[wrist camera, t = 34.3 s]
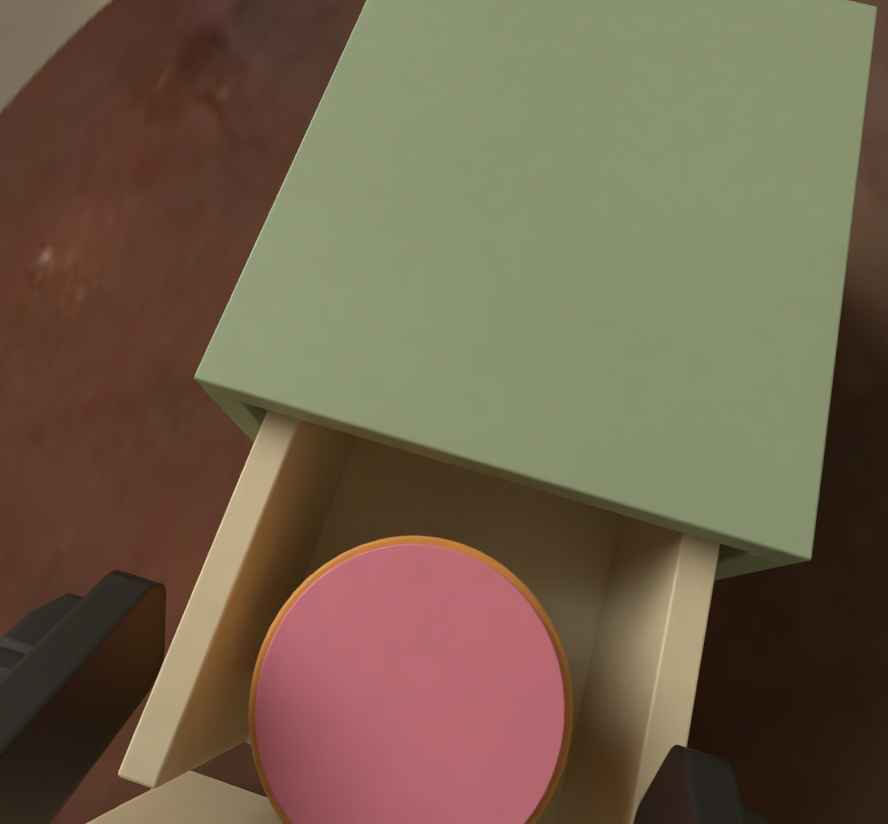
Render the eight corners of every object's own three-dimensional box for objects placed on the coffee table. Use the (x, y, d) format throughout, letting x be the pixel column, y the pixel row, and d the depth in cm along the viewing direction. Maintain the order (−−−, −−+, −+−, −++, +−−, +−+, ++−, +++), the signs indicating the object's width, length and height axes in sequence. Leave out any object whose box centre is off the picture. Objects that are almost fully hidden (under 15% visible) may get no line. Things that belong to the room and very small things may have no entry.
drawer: (529, 1202, 16) (601, 1647, 9) (87, 1030, 17) (-160, 1308, 10) (671, 473, 21) (782, 395, 15) (337, 377, 22) (293, 260, 15)
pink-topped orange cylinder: (295, 748, 18) (187, 830, 10) (361, 551, 19) (311, 494, 12) (490, 813, 17) (532, 952, 10) (540, 606, 19) (609, 584, 11)
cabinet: (659, 593, 21) (812, 560, 12) (287, 479, 22) (192, 378, 14) (730, 218, 26) (878, 6, 17) (419, 139, 27) (410, -98, 18)
